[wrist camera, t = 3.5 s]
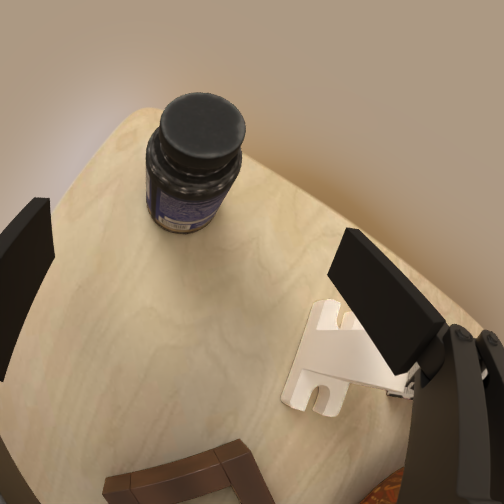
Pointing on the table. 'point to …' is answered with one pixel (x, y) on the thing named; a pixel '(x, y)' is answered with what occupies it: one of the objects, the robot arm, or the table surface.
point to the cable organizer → (335, 361)
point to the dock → (193, 479)
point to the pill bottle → (193, 161)
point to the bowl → (386, 490)
